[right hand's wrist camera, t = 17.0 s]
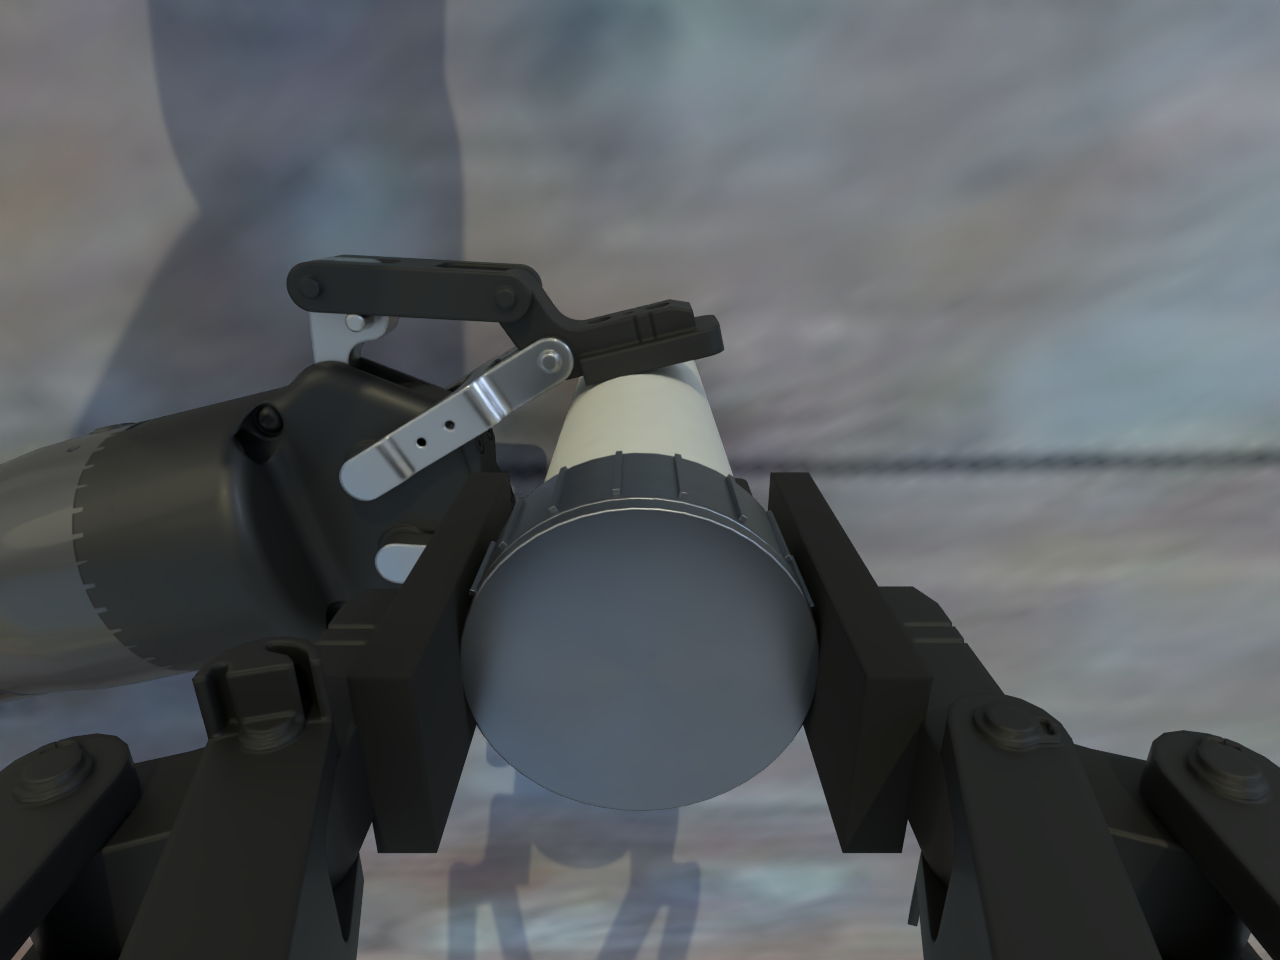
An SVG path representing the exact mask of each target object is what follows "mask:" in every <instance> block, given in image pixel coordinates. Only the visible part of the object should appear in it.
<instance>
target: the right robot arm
mask: <svg viewBox="0 0 1280 960" xmlns="http://www.w3.org/2000/svg"><path fill="white" fill-rule="evenodd" d="M769 510H771V512H772V513H773V514H774V517H775V519H776V522H777V524H778V526H779V529H780V531H781V533H782V536H783V538H784V540H785V543H786V545H787V548H788V550H789V552H790V555H793V556H794V558H795V561H796V563H797V565H798V568H799V570H800V572H801V575H802V577H803V579H804V582H805V584H806V586H807V589H808V591H809V593H810V596H811V598H812V600H813V603H814V605H815V612H812V613H813V615H814V618H815V621H816V624H817V628H818V634H819V640H820V659H819V669H818V678H817V687H816V694H815V697H814V701H813V704H812V707H811V709H810V711H809V713H808V715H807V717H806V719H805V722H804V724H803V726H804V729H805V732H806V736H807V739H808V742H809V745H810V749H811V752H812V755H813V758H814V761H815V765H816V768H817V771H818V774H819V778H820V781H821V784H822V787H823V791H824V794H825V797H826V800H827V804H828V807H829V810H830V813H831V817H832V820H833V823H834V826H835V829H836V833H837V836H838V839H839V842H840V846H841V849H842V852H843V853H902V848H903V843H904V837H905V832H906V826H907V821H908V820H909V822H910V825H911V827H912V829H913V832H914V834H915V836H916V839H917V841H918V843H919V846H920V848H921V855H920V860H919V865H918V870H917V875H916V881H915V886H914V891H913V896H912V901H911V906H910V912H909V918H908V924H909V925H914V926H917V924H918V919H919V914H920V925H921V935H922V945H923V955H924V960H1262V959H1261V958H1260V957H1259V955H1258V954H1257V953H1256V952H1255V950H1254V949H1253V948H1252V946H1251V945H1250V944H1249V943H1248V941H1247V940H1248V938H1249V936H1250V934H1251V933H1252V934H1253V935H1254V937H1255V938H1256V939H1257V940H1258V942H1259V943H1260V944H1261V945H1262V947H1263V948H1264V949H1265V950H1266V952H1267V953H1268V954H1269V955H1270V957H1271V958H1272V959H1273V960H1280V768H1279V767H1278V766H1277V765H1275V764H1274V763H1273V762H1271V761H1270V760H1269V759H1267V758H1266V757H1264V756H1262V755H1260V754H1258V753H1256V752H1254V751H1252V750H1250V749H1248V748H1246V747H1244V746H1242V745H1241V744H1239V743H1237V742H1234V741H1231V740H1228V739H1226V738H1225V739H1224V738H1221V737H1219V736H1215V735H1211V734H1207V733H1200V732H1192V731H1185V730H1182V731H1175V732H1167V733H1163V734H1162V735H1161V736H1159V737H1158V738H1157V739H1155V740H1154V741H1153V743H1152V746H1151V749H1150V752H1149V755H1148V758H1147V761H1145V760H1141V759H1136V758H1131V757H1127V756H1122V755H1117V754H1113V753H1108V752H1103V751H1099V750H1094V749H1090V748H1086V747H1083V746H1079V745H1076V744H1074V743H1073V741H1072V738H1071V737H1070V735H1069V734H1068V733H1067V731H1066V730H1065V728H1064V727H1063V725H1062V724H1061V723H1060V722H1059V721H1057V720H1056V719H1055V718H1054V717H1052V716H1051V715H1050V714H1048V713H1047V712H1046V711H1045V710H1043V709H1041V708H1039V707H1037V706H1035V705H1033V704H1031V703H1029V702H1027V701H1024V700H1022V699H1020V698H1016V697H1012V696H1008V695H1005V694H1004V693H1003V692H1002V690H1001V689H1000V688H999V686H998V685H997V684H996V682H995V681H994V679H993V678H992V677H991V675H990V674H989V673H988V671H987V670H986V669H985V667H984V666H983V664H982V663H981V662H980V660H979V659H978V658H977V656H976V655H975V653H974V652H973V651H972V649H971V648H970V647H969V645H968V644H967V643H964V638H963V637H962V636H961V634H960V633H959V632H958V630H957V629H956V628H955V627H952V622H951V621H950V619H949V618H948V617H947V615H946V614H945V613H944V611H943V610H942V608H941V607H940V606H939V604H938V603H937V602H935V601H934V600H932V599H931V598H929V597H928V596H926V595H925V594H923V593H922V592H920V591H919V590H917V589H916V588H914V587H878V585H877V584H876V582H875V580H874V579H873V577H872V576H871V574H870V572H869V571H868V569H867V567H866V566H865V564H864V562H863V561H862V559H861V558H860V556H859V554H858V553H857V551H856V549H855V548H854V546H853V544H852V543H851V541H850V540H849V538H848V536H847V535H846V533H845V531H844V530H843V528H842V526H841V525H840V523H839V522H838V520H837V518H836V517H835V515H834V513H833V512H832V510H831V508H830V507H829V505H828V504H827V502H826V500H825V499H824V497H823V495H822V494H821V492H820V490H819V489H818V487H817V486H816V484H815V482H814V481H813V479H812V477H811V476H810V474H809V473H771V474H770V488H769V502H768V511H769ZM511 514H512V508H511V494H510V480H509V473H470V475H469V477H468V478H467V480H466V482H465V483H464V485H463V487H462V488H461V490H460V491H459V493H458V495H457V496H456V498H455V500H454V501H453V503H452V505H451V506H450V508H449V509H448V511H447V513H446V514H445V516H444V518H443V519H442V521H441V523H440V524H439V526H438V527H437V529H436V531H435V532H434V534H433V536H432V537H431V539H430V541H429V542H428V544H427V545H426V547H425V549H424V550H423V552H422V554H421V555H420V557H419V558H418V560H417V562H416V563H415V565H414V567H413V568H412V570H411V572H410V573H409V575H408V576H407V578H406V580H405V581H404V583H403V585H402V586H401V588H400V589H366V590H365V591H363V592H362V593H360V594H359V595H357V596H356V597H354V598H353V599H351V600H350V601H348V602H347V603H345V604H344V605H342V607H341V608H340V609H339V611H338V612H337V613H336V615H335V616H334V618H333V619H332V620H331V622H330V623H329V624H328V629H325V630H324V631H323V633H322V634H321V635H320V637H319V638H318V640H317V641H316V645H315V644H313V643H312V642H311V641H309V640H306V639H301V638H297V637H293V636H287V637H268V638H264V639H260V640H255V641H251V642H246V643H244V644H241V645H239V646H237V647H234V648H232V649H229V650H227V651H225V652H222V653H221V654H219V655H218V656H216V657H215V658H213V659H212V660H210V661H209V662H207V663H206V664H204V665H203V666H202V668H201V669H200V670H199V671H198V673H197V674H196V675H195V676H194V677H193V679H192V681H193V685H194V688H195V692H196V695H197V699H198V703H199V706H200V710H201V714H202V717H203V721H204V724H205V728H206V732H207V735H208V739H209V740H208V742H207V744H206V747H204V748H201V749H197V750H194V751H190V752H186V753H181V754H177V755H172V756H167V757H163V758H158V759H153V760H149V761H144V762H140V763H135V764H134V763H133V759H132V756H131V753H130V750H129V747H128V745H127V744H126V743H125V742H124V741H122V740H121V739H120V738H118V737H117V736H112V735H105V734H98V733H97V734H89V735H82V736H75V737H70V738H67V739H63V740H59V741H58V742H53V743H50V744H47V745H45V746H42V747H40V748H39V749H37V750H35V751H33V752H31V753H29V754H27V755H25V756H23V757H21V758H19V759H17V760H15V761H14V762H13V763H11V764H10V765H9V766H7V767H6V768H4V769H3V770H2V771H0V960H11V959H12V958H13V956H14V955H15V954H16V953H17V951H18V950H19V949H20V948H21V946H22V945H23V944H24V943H25V941H26V940H27V939H28V938H29V936H30V937H31V940H32V942H33V945H32V946H31V948H30V949H29V950H28V951H27V953H26V954H25V955H24V957H23V958H22V959H21V960H356V957H357V947H358V937H359V926H360V916H361V906H362V896H363V885H364V878H363V871H362V865H361V860H360V855H359V851H360V848H361V846H362V844H363V841H364V839H365V837H366V834H367V832H368V830H369V827H370V825H371V823H373V828H374V834H375V840H376V845H377V851H378V853H437V851H438V848H439V844H440V841H441V838H442V835H443V831H444V828H445V825H446V822H447V818H448V815H449V812H450V809H451V806H452V802H453V799H454V796H455V793H456V789H457V786H458V783H459V780H460V776H461V773H462V770H463V767H464V763H465V760H466V757H467V754H468V750H469V747H470V744H471V741H472V738H473V734H474V731H475V728H476V725H477V724H476V722H475V720H474V719H473V717H472V715H471V712H470V710H469V707H468V705H467V702H466V700H465V697H464V690H463V682H462V673H461V663H460V653H459V644H460V636H461V632H462V627H463V623H464V619H465V616H466V614H467V611H468V609H469V607H470V604H471V602H472V599H473V597H472V596H469V595H468V594H469V591H470V589H471V586H472V584H473V582H474V579H475V577H476V575H477V573H478V570H479V568H480V566H481V563H482V561H483V559H484V556H485V554H486V552H487V549H488V547H489V545H490V543H491V541H494V542H497V539H498V537H499V535H500V532H501V530H502V529H503V527H504V525H505V524H506V522H507V521H508V519H509V517H510V516H511Z"/></svg>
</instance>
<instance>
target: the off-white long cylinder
mask: <svg viewBox="0 0 1280 960" xmlns="http://www.w3.org/2000/svg"><path fill="white" fill-rule="evenodd" d="M616 451H622V452H623V454H626V453H656V454H663V455H669V456H674V455H675V453H676V454H681V456H682V458H683V459H687V460H690V461H694V462H697V463H699V464H702V465H704V466H706V467H709V468H711V469H713V470H716V471H718V472H719V473H721V474H723V475H724V476H726V477H727V476H728V474H730V475H732V476H733V474H732V471H731V468H730V465H729V462H728V459H727V456H726V453H725V450H724V447H723V444H722V441H721V438H720V435H719V432H718V429H717V426H716V424H715V421H714V418H713V415H712V412H711V409H710V406H709V403H708V400H707V397H706V394H705V391H704V388H703V385H702V382H701V379H700V376H699V373H698V370H697V367H696V364H695V362H694V360H692V361H688V362H683V363H679V364H675V365H671V366H666V367H662V368H658V369H654V370H650V371H645V372H641V373H637V374H633V375H628V376H622V377H618V378H615V379H612V380H607V381H603V382H599V383H595V384H591V385H586V384H585V380H584V377H583V376H580V377H579V380H578V383H577V386H576V389H575V392H574V395H573V398H572V401H571V404H570V407H569V410H568V413H567V416H566V419H565V422H564V425H563V428H562V431H561V434H560V437H559V440H558V443H557V446H556V449H555V452H554V455H553V458H552V461H551V464H550V467H549V470H548V473H547V476H546V479H545V482H546V481H547V480H549V479H550V478H552V477H553V476H555V475H557V474H559V471H560V468H562V467H564V466H566V467H567V469H568V468H570V467H572V466H575V465H578V464H581V463H583V462H586V461H589V460H592V459H596V458H601V457H605V456H610V455H615V454H616Z"/></svg>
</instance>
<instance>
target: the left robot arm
mask: <svg viewBox="0 0 1280 960" xmlns="http://www.w3.org/2000/svg"><path fill="white" fill-rule="evenodd" d="M287 290H288V293H289V295H290V297H291V299H292V300H293V301H294V303H295V304H296V305H298V306H299V307H300V308H302V309H304V310H306V311H308V315H309V323H310V332H311V341H312V350H313V358H314V364H313V365H311V366H309V367H307V368H306V369H304V370H303V371H302V372H301V373H300V374H299V375H298V376H297V377H296V378H295V379H294V381H293V382H292V383H291V384H289V385H288V386H285V387H282V388H278V389H274V390H270V391H266V392H262V393H258V394H254V395H250V396H246V397H242V398H237V399H233V400H229V401H225V402H221V403H217V404H213V405H209V406H205V407H201V408H197V409H193V410H188V411H184V412H180V413H176V414H172V415H168V416H164V417H160V418H156V419H152V420H148V421H144V422H139V423H124V424H117V425H111V426H106V427H102V428H99V429H96V430H95V431H94V432H92V433H90V435H86V436H82V437H78V438H74V439H70V440H67V441H63V442H60V443H57V444H53V445H50V446H46V447H43V448H40V449H37V450H35V451H32V452H29V453H27V454H24V455H22V456H20V457H18V458H15V459H13V460H11V461H8V462H6V463H3V464H1V465H0V703H5V702H10V701H14V700H19V699H24V698H28V697H33V696H38V695H43V694H47V693H51V692H58V691H70V690H92V689H103V688H111V687H117V686H124V685H129V684H135V683H140V682H145V681H150V680H154V679H159V678H164V677H169V676H173V675H178V674H183V673H188V672H192V671H197V670H200V669H201V668H202V666H203V665H204V664H206V663H207V662H209V661H210V660H212V659H213V658H215V657H216V656H218V655H219V654H221V653H222V652H225V651H227V650H229V649H232V648H234V647H237V646H239V645H241V644H244V643H246V642H251V641H255V640H260V639H264V638H268V637H287V636H293V637H297V638H301V639H306V640H309V641H311V642H312V643H313V644H315V645H316V641H317V640H318V638H319V637H320V635H321V634H322V633H323V631H324V630H325V629H328V624H329V623H330V622H331V620H332V619H333V618H334V616H335V615H336V613H337V612H338V611H339V609H340V608H341V607H342V605H344V604H345V603H347V602H348V601H350V600H351V599H353V598H354V597H356V596H357V595H359V594H360V593H362V592H363V591H365V590H366V589H400V588H401V586H402V585H403V583H404V581H405V580H406V578H407V576H408V575H409V573H410V572H411V570H412V568H413V567H414V565H415V563H416V562H417V560H418V558H419V557H420V555H421V554H422V552H423V550H424V549H425V547H426V545H427V544H428V542H429V541H430V539H431V537H432V536H433V534H434V532H435V531H436V529H437V527H438V526H439V524H440V523H441V521H442V519H443V518H444V516H445V514H446V513H447V511H448V509H449V508H450V506H451V505H452V503H453V501H454V500H455V498H456V496H457V495H458V493H459V491H460V490H461V488H462V487H463V485H464V483H465V482H466V480H467V478H468V477H469V475H470V473H502V471H501V470H500V468H499V466H498V465H497V463H496V451H495V436H494V433H493V430H492V427H493V426H495V425H496V424H497V423H499V422H500V421H501V420H503V419H504V418H505V417H506V416H507V415H508V414H510V413H511V412H513V411H514V410H516V409H518V408H519V407H521V406H523V405H524V404H526V403H528V402H529V401H531V400H533V399H534V398H536V397H538V396H539V395H541V394H543V393H544V392H546V391H548V390H549V389H551V388H553V387H554V386H556V385H558V384H559V383H561V382H563V381H564V380H568V379H572V378H576V377H580V376H583V377H584V380H585V384H586V385H591V384H595V383H599V382H603V381H607V380H612V379H615V378H618V377H622V376H628V375H633V374H637V373H641V372H645V371H650V370H654V369H658V368H662V367H666V366H671V365H675V364H679V363H683V362H688V361H692V360H696V359H700V358H704V357H709V356H712V355H715V354H718V353H720V352H722V351H723V350H724V345H723V340H722V335H721V330H720V325H719V322H718V320H717V319H716V317H715V316H714V315H704V316H699V317H694V314H693V310H692V308H691V305H690V303H689V302H684V301H677V300H670V299H669V300H665V301H661V302H657V303H653V304H650V305H645V306H641V307H637V308H632V309H628V310H624V311H620V312H616V313H612V314H608V315H604V316H600V317H596V318H592V319H588V320H574V319H570V318H568V317H566V316H564V315H563V314H562V313H561V312H559V311H558V309H557V308H556V307H555V305H554V304H553V302H552V301H551V300H550V298H549V297H548V295H547V294H546V292H545V291H544V289H543V288H542V282H541V279H540V276H539V275H538V273H537V272H536V271H535V270H534V269H532V268H531V267H529V266H527V265H522V264H507V263H488V262H470V261H452V260H433V259H415V258H397V257H378V256H360V255H340V256H334V257H328V258H322V259H317V260H312V261H309V262H304V263H300V264H297V265H296V266H294V267H293V268H292V269H291V271H290V272H289V274H288V277H287ZM399 317H410V318H429V319H448V320H467V321H485V322H499V323H500V325H501V326H502V328H503V329H504V330H505V332H506V333H507V334H508V336H509V337H510V339H511V340H512V341H513V343H514V344H515V345H516V346H514V347H513V348H511V349H509V350H508V351H506V352H505V353H503V354H501V355H499V356H496V357H494V358H493V359H491V360H489V361H487V362H486V363H484V364H483V365H481V366H479V367H478V368H476V369H475V370H473V371H471V372H470V373H468V374H466V375H465V376H463V377H462V378H460V379H458V380H457V381H455V382H454V383H452V384H450V385H449V386H447V387H445V388H444V389H443V388H441V387H438V386H436V385H433V384H430V383H428V382H425V381H423V380H420V379H418V378H415V377H412V376H410V375H407V374H405V373H402V372H400V371H397V370H394V369H392V368H389V367H387V366H384V365H382V364H379V363H376V362H374V361H371V360H369V359H366V358H363V357H361V356H360V352H361V348H362V346H363V344H364V342H365V341H373V340H376V339H378V338H380V337H382V336H384V335H386V334H388V333H389V332H391V331H392V330H393V329H394V328H395V327H396V325H397V323H398V320H399ZM735 481H736V483H737V484H738V485H739V486H741V487H742V488H743V489H744V490H746V491H747V492H748V493H749V494H750V495H751V496H752V494H751V491H750V488H749V486H748V483H747V481H746V480H744V479H740V478H735ZM510 494H511V508H512V511H513V509H514V506H515V504H516V501H517V500H518V499H519V498H516V497H514V494H513V491H512V488H511V485H510ZM752 497H753V496H752ZM521 499H523V500H524V499H525V498H521Z"/></svg>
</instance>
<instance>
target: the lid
mask: <svg viewBox="0 0 1280 960" xmlns="http://www.w3.org/2000/svg"><path fill="white" fill-rule="evenodd" d="M468 595H469V596H472V597H473V599H472V602H471V604H470V607H469V609H468V611H467V614H466V616H465V619H464V623H463V627H462V632H461V636H460V644H459V653H460V663H461V673H462V682H463V690H464V697H465V700H466V702H467V705H468V707H469V710H470V712H471V715H472V717H473V719H474V720H475V722H476V724H477V726H478V727H479V729H480V731H481V733H482V734H483V735H484V737H485V738H486V739H487V741H488V742H489V743H490V744H491V746H492V747H493V748H494V749H495V750H496V751H497V752H498V753H499V754H500V755H501V756H502V757H503V758H504V759H505V760H506V761H507V762H508V763H509V764H510V765H511V766H512V767H514V768H515V769H516V770H518V771H519V772H520V773H521V774H523V775H524V776H525V777H527V778H529V779H530V780H532V781H534V782H535V783H537V784H539V785H540V786H542V787H544V788H546V789H548V790H550V791H552V792H555V793H557V794H559V795H561V796H564V797H567V798H570V799H573V800H576V801H578V802H581V803H586V804H590V805H594V806H599V807H604V808H612V809H620V810H645V811H646V810H659V809H669V808H675V807H680V806H686V805H690V804H694V803H697V802H701V801H704V800H708V799H710V798H713V797H715V796H718V795H720V794H723V793H725V792H728V791H730V790H732V789H733V788H735V787H737V786H739V785H741V784H743V783H745V782H746V781H748V780H749V779H751V778H752V777H754V776H755V775H757V774H758V773H759V772H761V771H762V770H764V769H765V768H766V767H767V766H768V765H769V764H770V763H772V762H773V761H774V760H775V759H776V758H777V757H778V756H779V755H780V754H781V753H782V752H783V751H784V750H785V749H786V747H787V746H788V745H789V744H790V743H791V742H792V740H793V739H794V737H795V736H796V734H797V733H798V731H799V730H800V728H801V727H802V725H803V724H804V722H805V719H806V717H807V715H808V713H809V711H810V709H811V707H812V704H813V701H814V697H815V694H816V687H817V678H818V669H819V659H820V640H819V634H818V628H817V624H816V621H815V618H814V615H813V613H812V612H815V605H814V603H813V600H812V598H811V596H810V593H809V591H808V589H807V586H806V584H805V582H804V579H803V577H802V575H801V572H800V570H799V568H798V565H797V563H796V561H795V558H794V556H793V555H790V552H789V550H788V548H787V545H786V543H785V540H784V538H783V536H782V533H781V531H780V529H779V526H778V524H777V522H776V519H775V517H774V514H773V513H772V512H771V510H769V511H767V512H766V511H765V510H764V508H763V507H762V506H761V505H760V504H759V503H758V502H757V501H756V500H755V499H754V498H753V497H752V496H751V495H750V494H749V493H748V492H747V491H746V490H744V489H743V488H742V487H741V486H739V485H738V484H737V483H736V481H735V478H734V477H733V476H732V475H730V474H728V476H727V477H726V476H724V475H723V474H721V473H719V472H718V471H716V470H713V469H711V468H709V467H706V466H704V465H702V464H699V463H697V462H694V461H690V460H687V459H683V458H682V456H681V454H676V453H675V455H674V456H669V455H663V454H656V453H626V454H623V452H622V451H616V454H615V455H610V456H605V457H601V458H596V459H592V460H589V461H586V462H583V463H581V464H578V465H575V466H572V467H570V468H568V469H567V467H566V466H564V467H562V468H560V471H559V474H557V475H555V476H553V477H552V478H550V479H549V480H547V481H546V482H544V483H543V484H541V485H540V486H539V487H537V488H536V489H535V490H534V491H533V492H532V493H531V494H530V495H528V496H527V497H526V498H525V499H524V500H523V499H521V498H519V499H518V500H517V501H516V504H515V506H514V509H513V511H512V514H511V516H510V517H509V519H508V521H507V522H506V524H505V525H504V527H503V529H502V530H501V532H500V535H499V537H498V539H497V542H494V541H491V543H490V545H489V547H488V549H487V552H486V554H485V556H484V559H483V561H482V563H481V566H480V568H479V570H478V573H477V575H476V577H475V579H474V582H473V584H472V586H471V589H470V591H469V594H468Z"/></svg>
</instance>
